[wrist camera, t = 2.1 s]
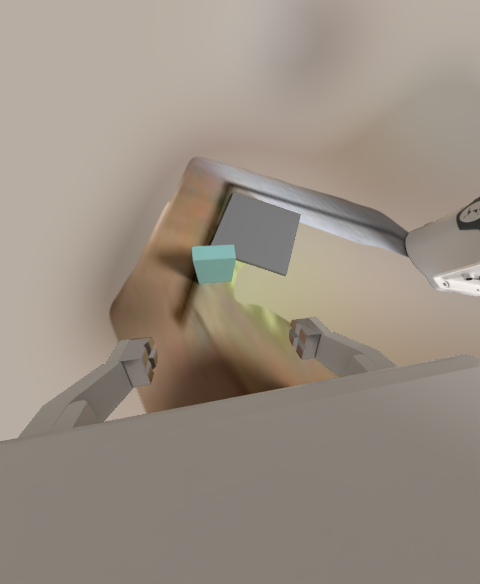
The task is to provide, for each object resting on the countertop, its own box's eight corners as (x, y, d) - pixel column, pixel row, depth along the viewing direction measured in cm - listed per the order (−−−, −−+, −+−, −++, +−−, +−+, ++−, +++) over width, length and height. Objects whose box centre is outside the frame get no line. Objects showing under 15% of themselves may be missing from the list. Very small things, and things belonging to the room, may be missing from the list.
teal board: (231, 281, 34) (235, 257, 25) (199, 284, 33) (192, 260, 24) (229, 270, 34) (233, 244, 26) (198, 273, 33) (191, 246, 25)
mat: (299, 216, 41) (300, 214, 40) (285, 276, 35) (286, 274, 35) (233, 193, 40) (233, 191, 40) (209, 250, 35) (209, 249, 34)
